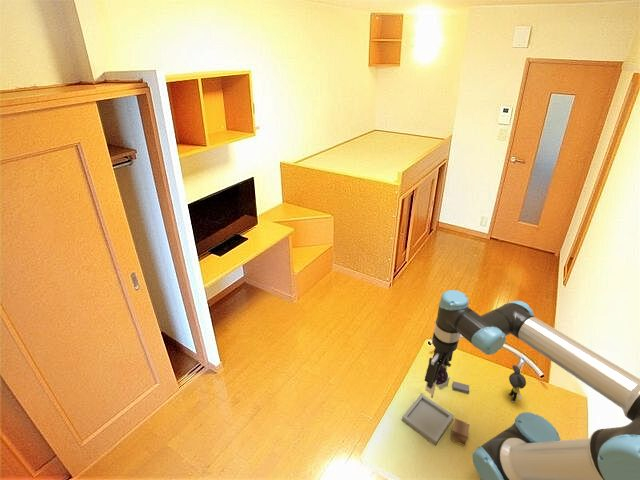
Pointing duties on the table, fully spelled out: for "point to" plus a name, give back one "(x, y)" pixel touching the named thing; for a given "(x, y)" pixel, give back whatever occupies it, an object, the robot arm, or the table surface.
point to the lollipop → (441, 377)
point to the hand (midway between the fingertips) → (434, 385)
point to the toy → (516, 383)
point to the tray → (428, 418)
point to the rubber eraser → (460, 387)
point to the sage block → (444, 383)
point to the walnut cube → (460, 431)
